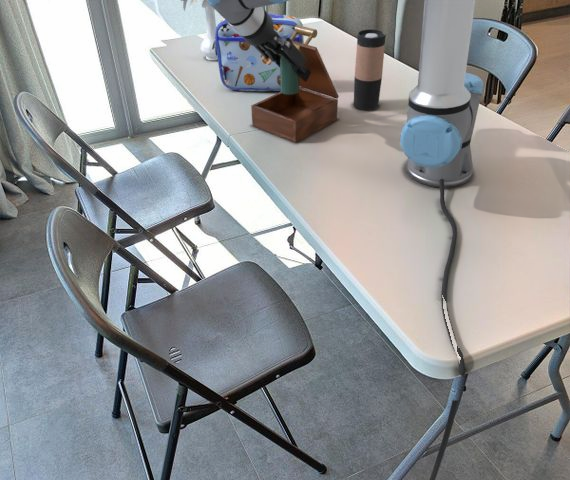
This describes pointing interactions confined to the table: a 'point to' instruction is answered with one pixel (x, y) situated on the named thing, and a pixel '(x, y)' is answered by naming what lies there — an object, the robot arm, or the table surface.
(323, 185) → the table surface
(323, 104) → the case
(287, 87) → the tea tin
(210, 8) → the flower vase
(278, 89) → the lunch box
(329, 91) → the case lid
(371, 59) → the travel mug
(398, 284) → the table surface
